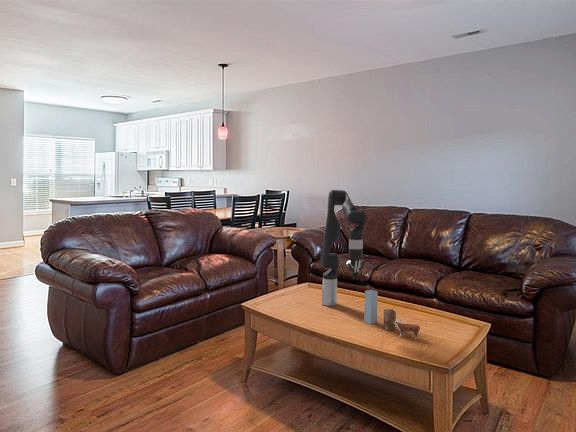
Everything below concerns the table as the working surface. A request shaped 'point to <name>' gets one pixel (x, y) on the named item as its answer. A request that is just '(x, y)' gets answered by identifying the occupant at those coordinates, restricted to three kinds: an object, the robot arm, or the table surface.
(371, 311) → the bluegrey block
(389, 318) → the walnut block
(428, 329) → the table surface
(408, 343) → the table surface
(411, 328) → the bull figurine
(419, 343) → the table surface
